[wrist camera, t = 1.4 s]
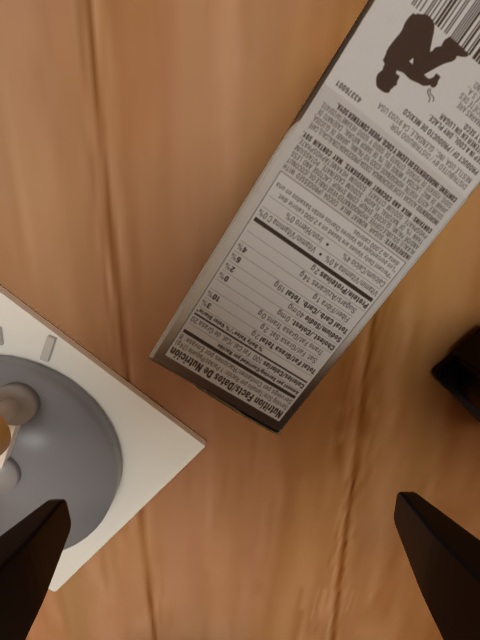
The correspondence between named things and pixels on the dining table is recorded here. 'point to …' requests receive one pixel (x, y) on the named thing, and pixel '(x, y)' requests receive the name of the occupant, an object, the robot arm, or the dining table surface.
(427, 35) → the coffee box
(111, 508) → the panel
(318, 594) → the dining table surface
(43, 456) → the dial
